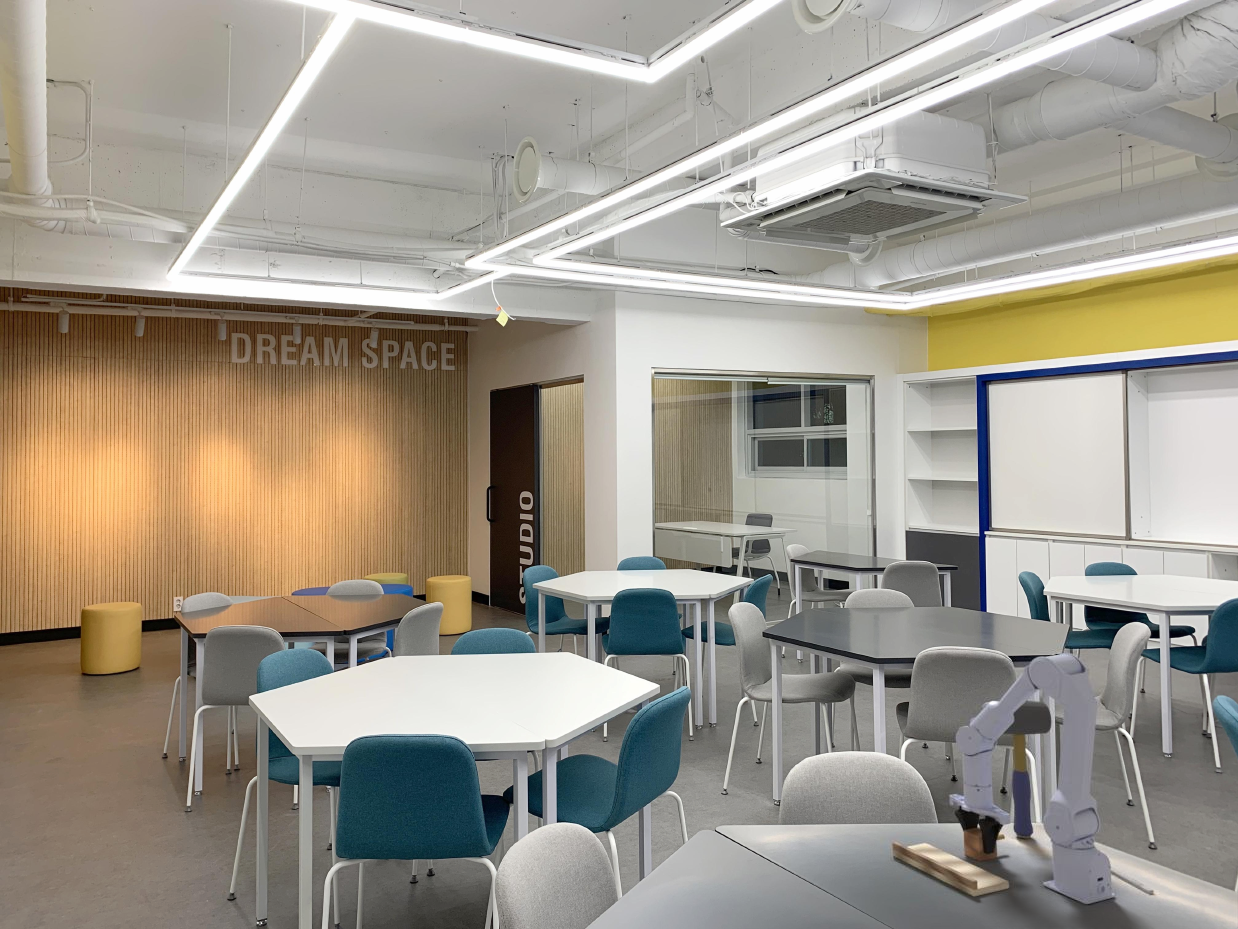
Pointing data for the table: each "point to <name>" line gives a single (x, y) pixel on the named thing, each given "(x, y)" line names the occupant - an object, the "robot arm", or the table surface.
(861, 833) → the table surface
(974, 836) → the brown wooden block
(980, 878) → the board
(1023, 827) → the rubber mallet
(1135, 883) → the pale grey thin rod
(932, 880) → the table surface
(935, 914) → the table surface
